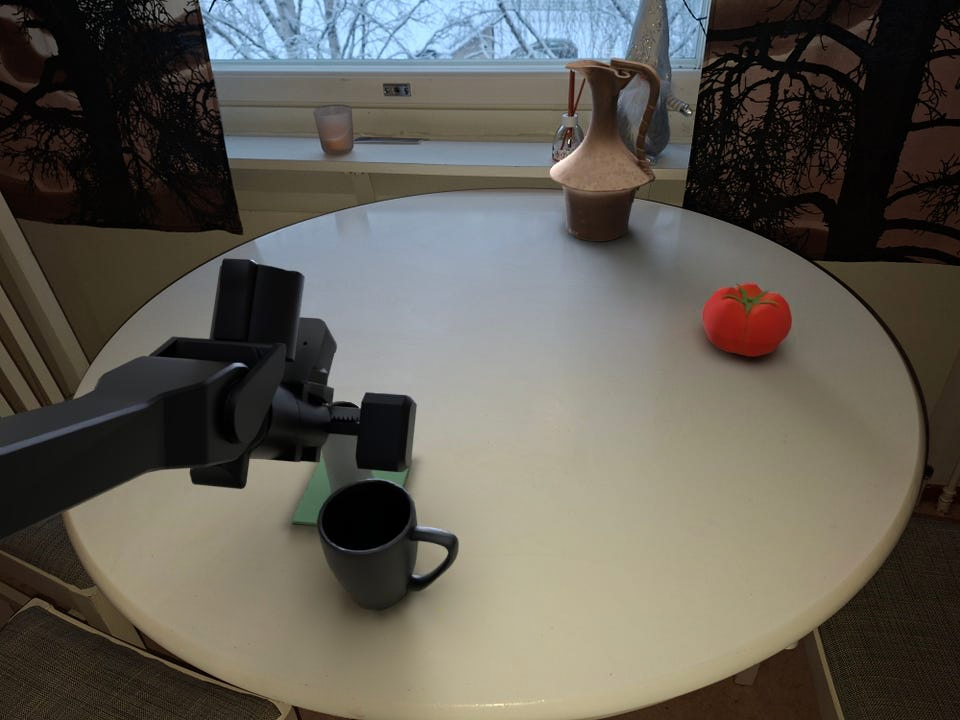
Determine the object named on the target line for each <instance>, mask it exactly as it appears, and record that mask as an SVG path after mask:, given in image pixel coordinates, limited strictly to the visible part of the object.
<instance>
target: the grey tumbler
mask: <svg viewBox="0 0 960 720" xmlns="http://www.w3.org/2000/svg"><path fill="white" fill-rule="evenodd" d="M326 406H337V407H350V408H361V406H359V405H358V404H356V403H355V402H354V401H353V402H352V401H349V400H337V401H333V403H332V404H327V405H326ZM331 421H336V422H349V423H359V421H358V417H357V420H354V419H353V418H352V420H349V417H348V418H347V420H345V419H344V417H343V419H340V418H339V417H338V419H335V416H334V418H333V419H331ZM357 437H358V436H350V435H338V434H329V436H328V439H327V441H326V442H325V444H324V445H323V446H322V448H321V456H323V459H324V463H325V468H326V472H327V476H328V480H329V485H330V489H331V493H332V494H333V493H334V492H335V491H336V490H338V489H340V488H341V487H343V486H345V485H347V484H350V483H352V482H355V481H359V480H364V479H374V476H373V470H367V469H357V463H356V458H355V455H356V446H357Z"/></svg>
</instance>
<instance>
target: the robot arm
mask: <svg viewBox="0 0 960 720" xmlns="http://www.w3.org/2000/svg"><path fill="white" fill-rule="evenodd" d="M217 276H218V277H217V284H216V290H215V298H214V304H213V311H212V317H211V323H210V331H209V338H203V337H188V336H171V337H170V338H169V339H167V340H166V341H165V342H163V343H162V344H161V345H160V346H159V347H157V348H156V349H155V350H153V351H152V352H150V354H149V355H141V356H138V357H135V358H133V359H131V360H129V361H127V362H124V363H122V364H121V365H119V366H116V367H115V368H112V369H111V370H108V371H107V372H104V373H103V374H102V375H101V376H100V377H99V378H98V379H97V382H96V384H95V386H94V388H93V390H90V391H89V392H87V393H85V394H83V395H81V396H78V397H76V398H72V399H68V400H64V401H60V402H57V403H53V404H49V405H45V406H41V407H37V408H34V409H30V410H26V411H22V412H18V413H14V414H11V415H7V416H3V417H0V543H3V542H4V541H7V540H9V539H11V538H13V537H15V536H17V535H19V534H22V533H24V532H25V531H28V530H29V529H32V528H34V527H36V526H39V525H40V524H43V523H44V522H46V521H49V520H51V519H53V518H55V517H57V516H60V515H62V514H64V513H66V512H67V511H69V510H72V509H74V508H76V507H78V506H80V505H82V504H84V503H86V502H89V501H91V500H93V499H95V498H97V497H99V496H102V495H104V494H105V493H108V492H110V491H112V490H114V489H115V488H118V487H121V486H123V485H125V484H126V483H128V482H129V483H130V481H133V480H135V479H137V478H139V477H141V476H143V475H145V474H149V473H154V472H158V471H166V470H168V471H169V470H181V469H182V470H183V469H189V477H190V481H191V483H192V484H193V485H196V486H204V487H216V488H225V489H226V488H227V489H236V490H243V489H245V487H247V482H248V474H249V467H250V460H267V461H279V462H289V463H300V462H307V463H318V464H319V463H320V460H321V457H322V451H321V448H322V446H323V445H324V444H325V442H326V441H327V439H328V436H329V434H338V435H350V436H358V437H357V446H356V455H355V458H356V463H357V469H367V470H378V471H389V472H404V471H405V470H407V469H408V468H409V467H410V468H411V467H412V462H411V459H412V458H413V447H414V439H415V438H414V437H415V427H416V417H417V407H418V404H417V403H416V401H415V400H414V398H412V397H411V396H410V395H408V394H400V393H386V392H375V391H374V392H373V391H365V393H364V395H363V397H362V399H361V402H360V408H350V407H337V406H326V405H327V404H332V403H333V402H334V394H335V388H334V387H332V386H329V385H328V382H329V381H328V380H329V376H330V373H331V369H332V365H333V361H334V357H335V354H336V353H337V349H338V344H337V341H336V340H335V339H336V338H334V335H333V334H332V332H331V330H330V329H329V327H328V325H327V323H326V321H325V320H324V319H322V318H318V317H303V316H301V310H302V303H303V296H304V289H305V279H306V277H305V275H304V274H303V273H301V272H300V271H298V270H287V269H284V268H281V267H277V266H273V265H268V264H267V265H266V264H261V263H257V262H255V261H254V260H253V259H250V258H249V259H246V258H226V257H225V258H223V259H222V261H221V265H219V270H218V275H217ZM334 416H335V419H338V417H339V418H340V419H343V417H344V419H345V420H347V418H348V417H349V420H352V418H353V419H354V420H357V417H358V421H359V423H349V422H336V421H331V419H333V418H334ZM410 468H409V469H410Z"/></svg>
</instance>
